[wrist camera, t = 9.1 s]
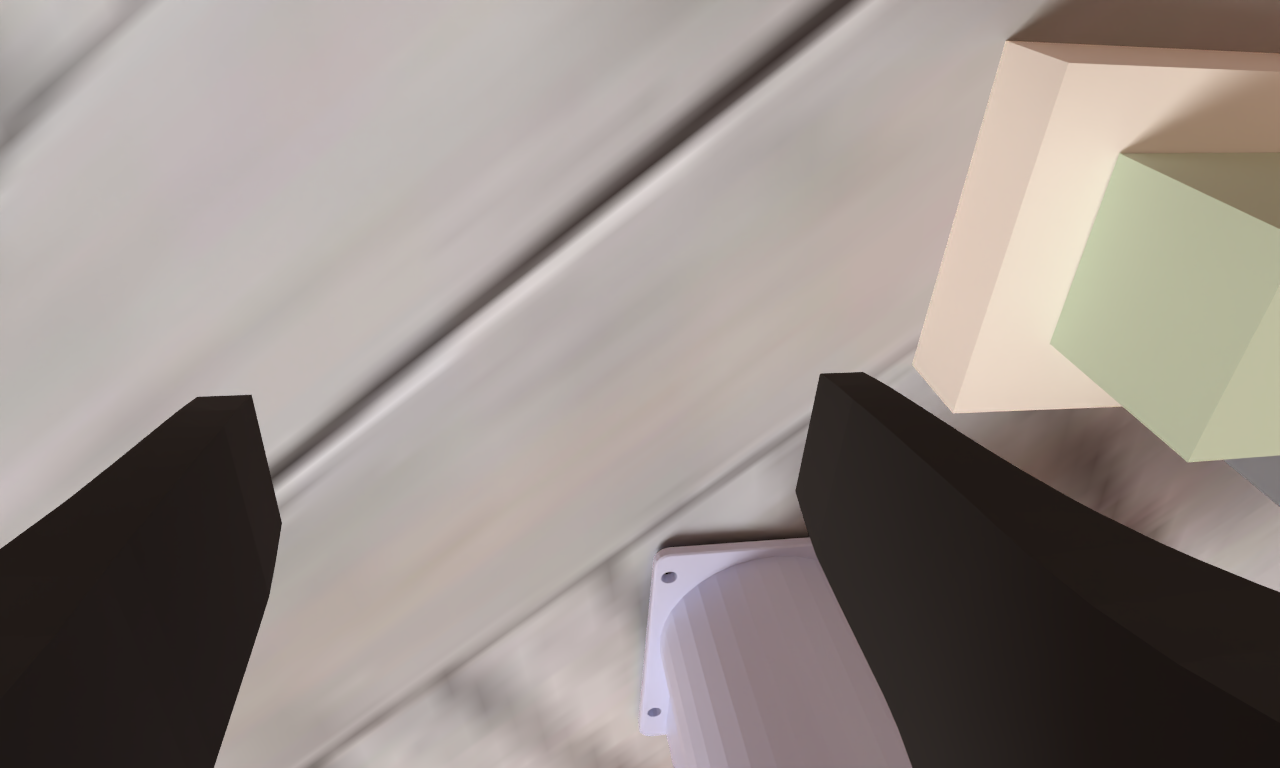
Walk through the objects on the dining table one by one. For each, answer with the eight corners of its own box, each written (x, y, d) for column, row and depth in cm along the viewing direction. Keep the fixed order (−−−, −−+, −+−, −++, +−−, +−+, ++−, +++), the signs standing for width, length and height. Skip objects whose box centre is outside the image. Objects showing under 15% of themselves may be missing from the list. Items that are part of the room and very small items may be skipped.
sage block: (1215, 336, 22) (1385, 447, 18) (1049, 343, 21) (1187, 462, 17) (1305, 152, 19) (1529, 234, 15) (1119, 153, 19) (1302, 240, 15)
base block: (1166, 349, 26) (1238, 401, 24) (905, 356, 25) (952, 413, 22) (1308, 51, 21) (1417, 77, 19) (994, 36, 20) (1068, 62, 17)
